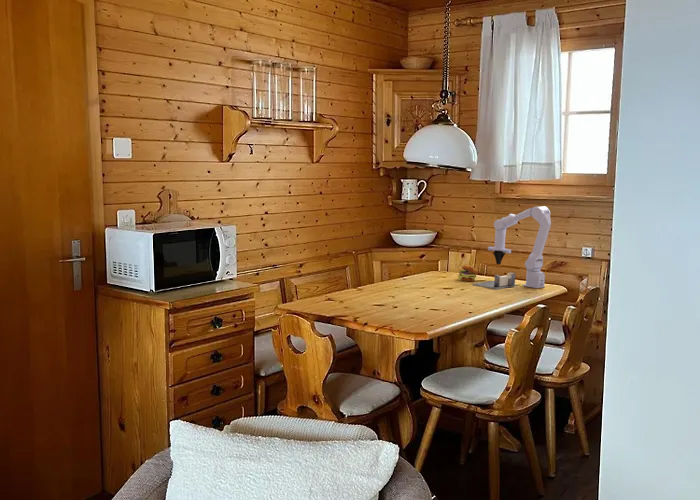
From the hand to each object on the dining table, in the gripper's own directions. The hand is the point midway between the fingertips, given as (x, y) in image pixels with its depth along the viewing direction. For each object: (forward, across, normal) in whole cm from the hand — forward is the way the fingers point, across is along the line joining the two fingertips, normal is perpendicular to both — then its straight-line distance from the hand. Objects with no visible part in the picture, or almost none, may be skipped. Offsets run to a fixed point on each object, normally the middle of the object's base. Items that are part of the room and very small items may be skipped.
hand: (498, 264), depth 397 cm
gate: (+9, -14, +14) cm, 21 cm away
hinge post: (+9, -14, +20) cm, 26 cm away
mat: (+9, -9, +14) cm, 19 cm away
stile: (+9, -15, +8) cm, 19 cm away
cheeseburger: (+10, +10, +15) cm, 20 cm away
